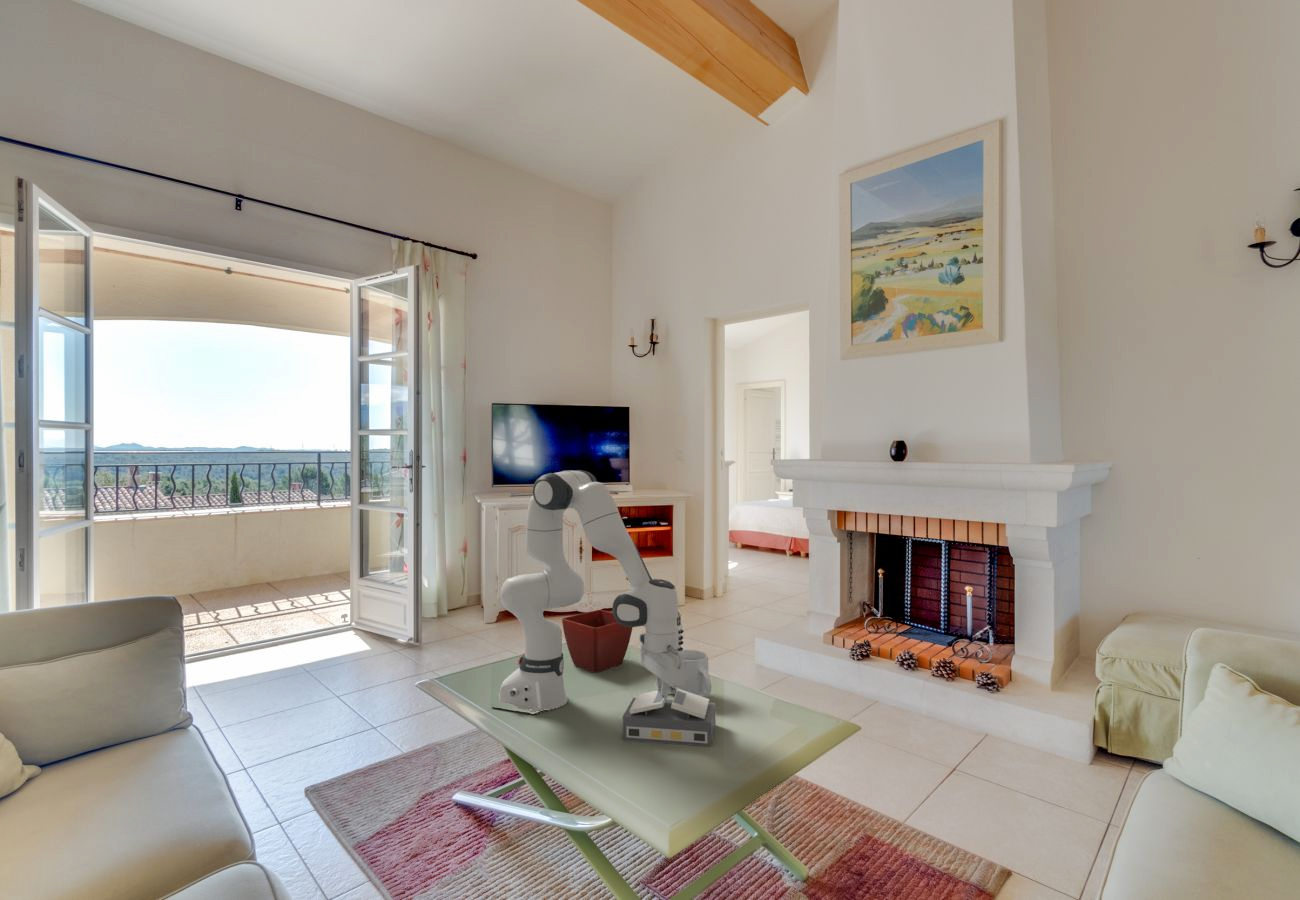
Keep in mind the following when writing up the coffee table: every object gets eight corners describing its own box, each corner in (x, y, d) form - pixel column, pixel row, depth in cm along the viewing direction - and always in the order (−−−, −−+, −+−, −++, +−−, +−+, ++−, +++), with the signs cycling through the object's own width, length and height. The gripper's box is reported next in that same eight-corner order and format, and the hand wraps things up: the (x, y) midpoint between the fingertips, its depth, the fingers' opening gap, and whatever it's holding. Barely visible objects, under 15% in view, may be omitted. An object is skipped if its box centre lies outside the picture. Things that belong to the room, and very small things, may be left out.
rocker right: (670, 707, 155) (671, 703, 155) (676, 692, 165) (677, 688, 165) (704, 719, 153) (705, 715, 153) (708, 702, 164) (709, 698, 164)
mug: (724, 703, 179) (723, 659, 179) (695, 712, 173) (694, 666, 173) (693, 688, 191) (693, 647, 192) (665, 696, 185) (665, 653, 185)
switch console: (622, 740, 155) (622, 711, 156) (633, 719, 168) (633, 693, 169) (711, 747, 151) (711, 717, 151) (715, 724, 164) (715, 698, 164)
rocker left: (630, 714, 156) (629, 710, 157) (638, 698, 167) (637, 694, 167) (662, 707, 155) (661, 703, 155) (669, 691, 166) (668, 687, 166)
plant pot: (635, 664, 216) (635, 617, 216) (595, 678, 202) (595, 627, 202) (600, 653, 229) (600, 609, 229) (560, 665, 215) (560, 618, 215)
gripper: (690, 650, 153) (691, 705, 152) (656, 630, 171) (657, 679, 171) (668, 653, 150) (669, 709, 150) (636, 633, 169) (637, 683, 168)
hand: (662, 693), depth 160 cm, fingers closed
